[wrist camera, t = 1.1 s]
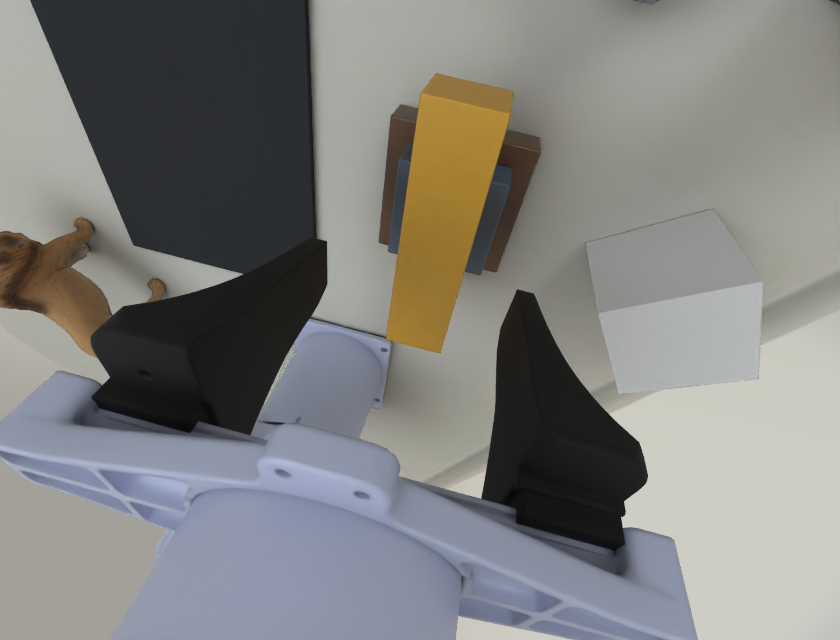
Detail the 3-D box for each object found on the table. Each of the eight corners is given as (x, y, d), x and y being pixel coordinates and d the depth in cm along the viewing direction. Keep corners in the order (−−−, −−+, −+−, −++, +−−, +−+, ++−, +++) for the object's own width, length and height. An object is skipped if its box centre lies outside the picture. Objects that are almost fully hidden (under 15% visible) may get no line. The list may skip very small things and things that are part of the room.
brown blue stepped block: (498, 255, 24) (494, 295, 21) (386, 227, 24) (367, 263, 22) (540, 137, 19) (542, 169, 16) (399, 103, 19) (378, 129, 17)
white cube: (716, 298, 23) (759, 379, 19) (604, 319, 26) (619, 394, 21) (713, 207, 20) (764, 281, 15) (584, 242, 22) (597, 313, 18)
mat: (318, 289, 29) (316, 292, 29) (137, 242, 29) (133, 245, 29) (307, -40, 16) (303, -40, 16) (-9, -111, 17) (-19, -113, 17)
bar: (448, 318, 23) (440, 354, 21) (398, 305, 23) (385, 339, 21) (514, 91, 15) (511, 113, 13) (435, 72, 15) (420, 92, 13)
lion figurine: (18, 215, 30) (-122, 288, 24) (30, 174, 27) (-125, 246, 21) (190, 336, 36) (116, 420, 30) (216, 313, 33) (140, 402, 27)
